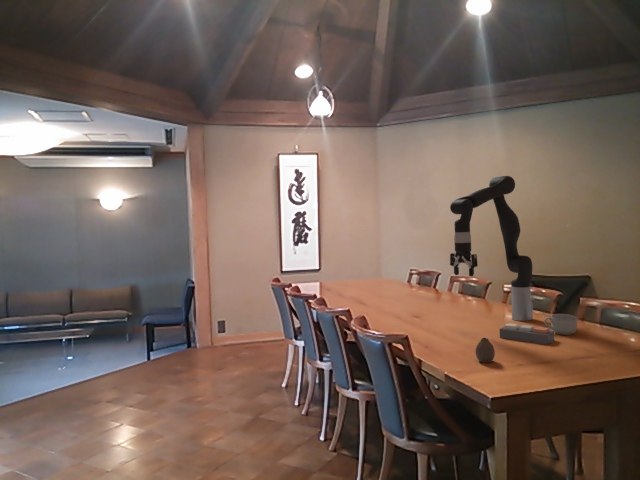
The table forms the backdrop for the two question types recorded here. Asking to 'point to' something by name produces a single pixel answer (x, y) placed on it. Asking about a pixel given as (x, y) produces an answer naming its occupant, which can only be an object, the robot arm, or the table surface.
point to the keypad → (527, 336)
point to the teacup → (562, 323)
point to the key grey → (526, 328)
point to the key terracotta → (541, 330)
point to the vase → (485, 351)
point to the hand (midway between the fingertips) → (463, 275)
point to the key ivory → (511, 326)
